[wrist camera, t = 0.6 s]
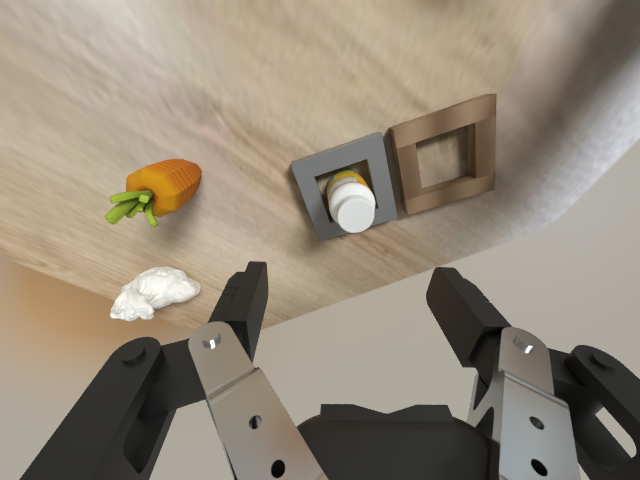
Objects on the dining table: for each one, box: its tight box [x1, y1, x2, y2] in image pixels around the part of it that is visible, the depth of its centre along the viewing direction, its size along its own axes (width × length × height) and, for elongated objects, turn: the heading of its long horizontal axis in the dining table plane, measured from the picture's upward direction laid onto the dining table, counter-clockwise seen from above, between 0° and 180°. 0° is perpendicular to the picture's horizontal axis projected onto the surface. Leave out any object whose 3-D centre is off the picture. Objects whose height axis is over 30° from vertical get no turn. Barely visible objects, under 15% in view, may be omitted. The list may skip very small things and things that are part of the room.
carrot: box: [105, 159, 202, 227], centre depth 26 cm, size 5×5×15 cm
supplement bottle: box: [327, 170, 375, 233], centre depth 30 cm, size 5×5×10 cm
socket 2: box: [389, 94, 496, 215], centre depth 32 cm, size 12×12×2 cm
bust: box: [110, 267, 201, 321], centre depth 37 cm, size 12×8×11 cm
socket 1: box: [291, 132, 398, 241], centre depth 34 cm, size 12×12×2 cm
